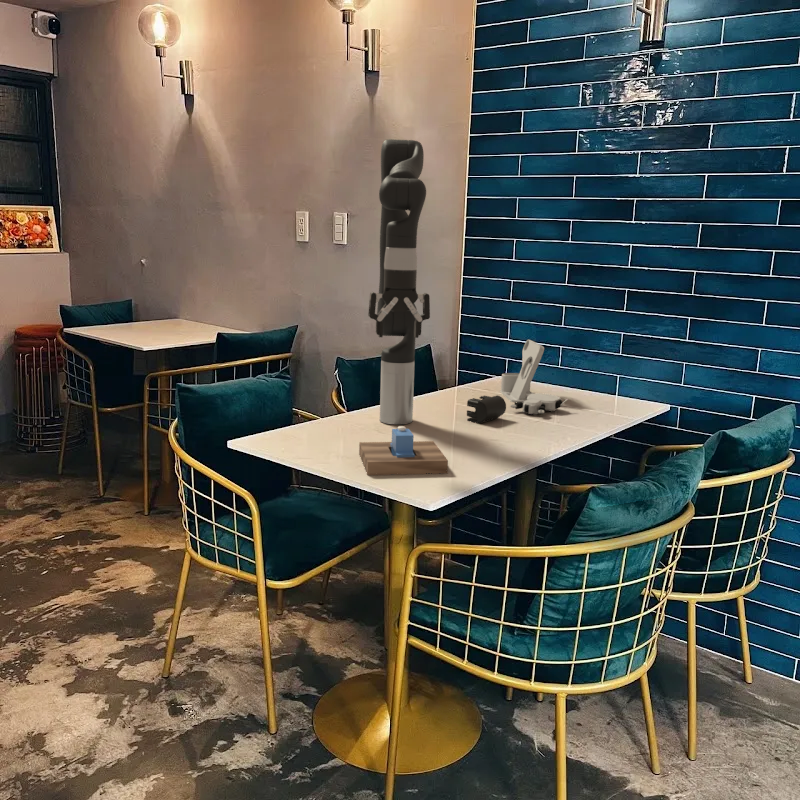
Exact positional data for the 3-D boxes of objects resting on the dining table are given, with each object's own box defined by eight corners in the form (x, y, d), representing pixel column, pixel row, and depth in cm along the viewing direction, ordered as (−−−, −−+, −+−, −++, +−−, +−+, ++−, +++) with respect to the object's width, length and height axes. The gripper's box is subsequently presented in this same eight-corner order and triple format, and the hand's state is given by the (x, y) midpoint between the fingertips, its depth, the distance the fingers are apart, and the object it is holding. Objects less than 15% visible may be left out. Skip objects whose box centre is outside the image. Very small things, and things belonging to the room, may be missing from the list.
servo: (414, 469, 180) (415, 434, 178) (396, 470, 179) (397, 434, 178) (406, 457, 190) (407, 423, 188) (389, 457, 189) (390, 423, 187)
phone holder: (498, 391, 269) (501, 338, 265) (528, 391, 270) (531, 338, 266) (511, 402, 252) (515, 346, 248) (542, 402, 253) (546, 346, 249)
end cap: (486, 425, 222) (487, 402, 221) (465, 421, 227) (466, 398, 225) (505, 419, 230) (507, 396, 228) (485, 415, 234) (486, 393, 233)
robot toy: (543, 422, 232) (568, 410, 243) (543, 407, 231) (568, 396, 242) (507, 415, 239) (533, 403, 250) (507, 400, 238) (533, 390, 249)
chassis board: (359, 454, 191) (359, 442, 190) (432, 453, 194) (433, 441, 193) (367, 475, 175) (367, 462, 175) (447, 473, 178) (447, 460, 178)
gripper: (372, 268, 180) (370, 339, 183) (434, 269, 182) (431, 339, 186) (368, 266, 187) (366, 334, 190) (427, 267, 189) (425, 335, 193)
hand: (398, 337), depth 188 cm, fingers open, 8 cm apart
